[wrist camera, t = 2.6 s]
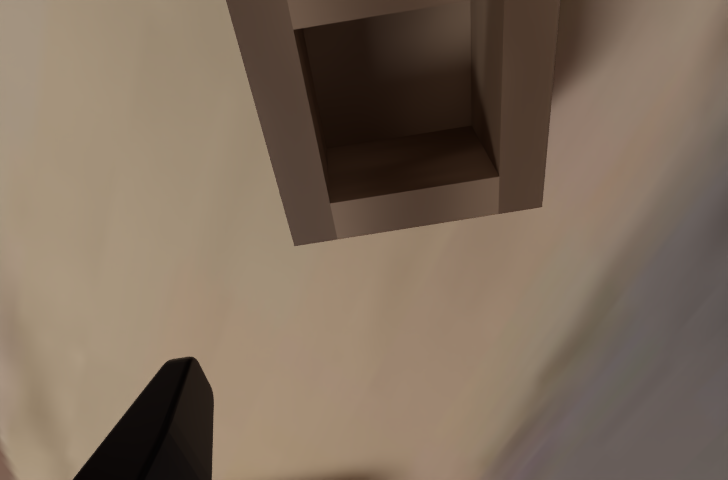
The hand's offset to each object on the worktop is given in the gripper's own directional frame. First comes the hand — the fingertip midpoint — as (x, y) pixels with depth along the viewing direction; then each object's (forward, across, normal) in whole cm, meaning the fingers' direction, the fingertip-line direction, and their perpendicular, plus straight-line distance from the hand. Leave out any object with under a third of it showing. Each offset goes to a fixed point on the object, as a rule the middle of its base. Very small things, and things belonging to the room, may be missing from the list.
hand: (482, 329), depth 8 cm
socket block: (+12, 0, 0) cm, 12 cm away
